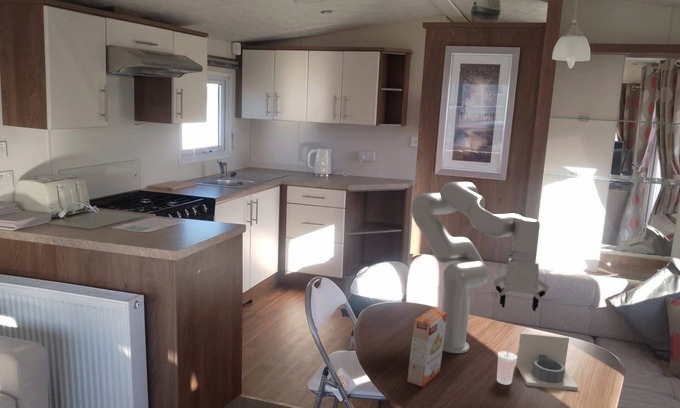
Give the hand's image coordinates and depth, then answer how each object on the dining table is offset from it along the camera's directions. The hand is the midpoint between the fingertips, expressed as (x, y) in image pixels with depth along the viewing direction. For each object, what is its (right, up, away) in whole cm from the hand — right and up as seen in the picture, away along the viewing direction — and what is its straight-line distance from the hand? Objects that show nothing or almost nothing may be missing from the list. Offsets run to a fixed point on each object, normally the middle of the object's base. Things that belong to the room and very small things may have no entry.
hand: (518, 308), depth 187 cm
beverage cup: (-5, -24, 0) cm, 24 cm away
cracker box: (-31, -22, -1) cm, 38 cm away
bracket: (+11, -24, +5) cm, 27 cm away
